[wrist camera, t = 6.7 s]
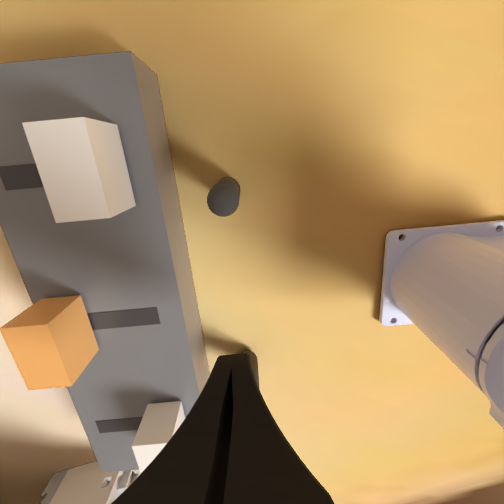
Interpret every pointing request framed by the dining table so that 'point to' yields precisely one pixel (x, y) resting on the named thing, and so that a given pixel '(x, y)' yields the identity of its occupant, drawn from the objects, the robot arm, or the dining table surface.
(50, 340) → the orange block
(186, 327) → the breaker panel
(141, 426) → the paddle
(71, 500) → the circuit breaker
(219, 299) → the dining table surface
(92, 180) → the paddle
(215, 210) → the cord posts
